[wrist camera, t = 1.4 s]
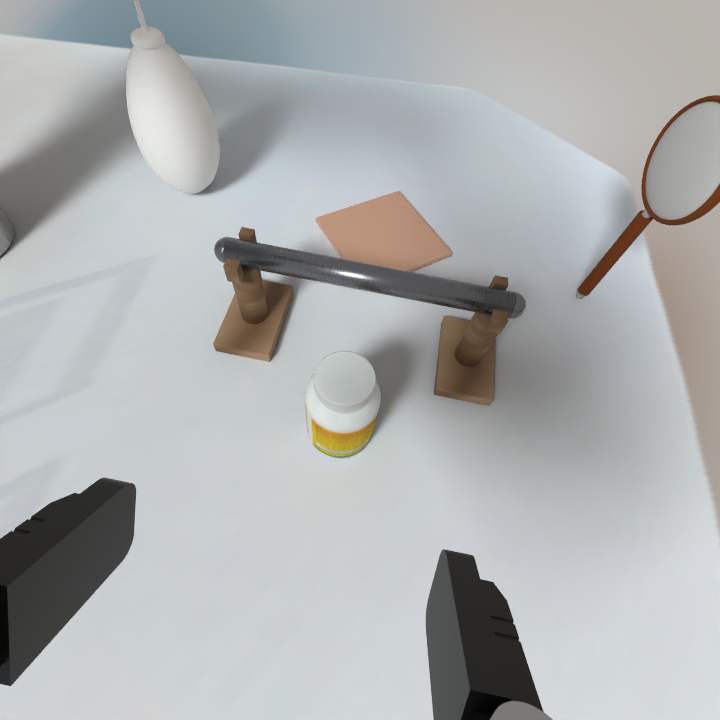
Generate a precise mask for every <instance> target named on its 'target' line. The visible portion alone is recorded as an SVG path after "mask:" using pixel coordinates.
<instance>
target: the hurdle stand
mask: <svg viewBox="0 0 720 720" xmlns="http://www.w3.org/2000/svg"><path fill="white" fill-rule="evenodd" d="M239 238H240V239H241V240H246V241H251V242H256V243H257V241H256V236H255V230H254V229H249V228H244V227H242V228H241V230H240V232H239ZM223 267H224V270H225V274H226V277H227V280H228V281H231V282H232V283H233V287H234V290H235V295H234V297H233V300H232V302H231V304H230V307H229V309H228V311H227V314H226V316H225V318H224V320H223V323H222V325H221V327H220V330H219V332H218V334H217V337H216V339H215V341H214V347H215V349H216V351H219V352H224V353H229V354H234V355H239V356H244V357H249V358H254V359H259V360H264V361H269V362H270V361H271V358H272V355H273V352H274V349H275V346H276V343H277V340H278V337H279V334H280V331H281V328H282V326H283V323H284V320H285V317H286V314H287V311H288V308H289V305H290V302H291V299H292V296H293V286H289V285H284V284H279V283H274V282H269V281H263V280H262V278H261V272H260V270H256V269H251V268H246V267H242V266H241V262H240V261H237V260H232V259H227V260H226V262H225V264H224V266H223ZM489 287H491V288H496V289H501V290H506V288H507V287H508V278H506V277H500V276H495V277H494V279H493V281H492V282H491V284H490V286H489ZM507 322H508V313H506V312H501V311H496V310H494V311H493V313H492V315H488V314H483V313H478V312H475V314H474V316H473V318H472V319H471V321H469V320H464V319H459V318H454V317H449V316H444V318H443V321H442V323H441V332H440V342H439V351H438V361H437V370H436V380H435V389H434V395H439V396H444V397H449V398H454V399H459V400H464V401H469V402H474V403H479V404H484V405H490V404H491V403H492V402H493V401H494V382H495V341H496V336H497V334H500V333H501V331H502V330H503V328H504V327H505V325H506V323H507Z"/></svg>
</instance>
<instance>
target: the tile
mask: <svg viewBox="0 0 720 720" xmlns="http://www.w3.org/2000/svg"><path fill="white" fill-rule="evenodd" d="M316 222H317V223H318V225H319V226H320V227H321V229H322V230H323V232H324V233H325V235H326V236H327V237H328V239H329V240H330V242H331V243H332V245H333V246H334V247H335V249H336V250H337V252H338V253H339V255H340V256H341V257H342V259H345V260H350V261H355V262H361V263H366V264H371V265H376V266H381V267H387V268H392V269H397V270H402V271H407V272H411V271H414V270H416V269H419V268H421V267H424V266H426V265H429V264H432V263H434V262H437V261H439V260H442V259H444V258H447V257H449V256H451V255H452V252H451V250H450V249H449V248H448V247H447V246H446V245H445V244H444V242H443V241H442V240H441V239H440V238H439V237H438V235H437V234H436V233H435V232H434V231H433V230H432V229H431V227H430V226H429V225H428V224H427V223H426V222H425V220H424V219H423V218H422V217H421V216H420V215H419V214H418V212H417V211H416V210H415V209H414V208H413V207H412V205H411V204H410V203H409V202H408V201H407V200H406V199H405V197H404V196H403V195H402V194H401V193H400V192H399V191H397V192H394V193H391V194H388V195H385V196H382V197H379V198H376V199H373V200H370V201H366V202H363V203H360V204H357V205H354V206H351V207H348V208H345V209H342V210H339V211H336V212H332V213H329V214H326V215H323V216H320V217H317V218H316Z"/></svg>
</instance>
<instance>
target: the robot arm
mask: <svg viewBox="0 0 720 720" xmlns="http://www.w3.org/2000/svg"><path fill="white" fill-rule="evenodd" d="M13 237H14V228H13V224H12V223H11V222H10V220H9V219H8V218H7V216H6V215H5V214H4V213H3V212H2V210H1V209H0V256H1V255H2V254H3V253H4V252H5V251H6V250H7V248H8V247H9V246H10V244H11V242H12V240H13ZM135 503H136V487H135V485H134V484H133V483H128V482H123V481H118V480H113V479H109V478H101V479H99V480H98V481H96V482H95V483H94V484H92V485H91V486H90V487H88V488H87V489H86V490H84V491H83V492H82V493H80V494H77V493H73V494H71V495H69V496H66V497H64V498H61V499H59V500H57V501H54V502H52V503H50V504H48V505H47V506H46V507H44V508H43V509H41V510H40V511H39V512H37V513H36V514H34V515H33V516H32V517H31V519H30V520H28V519H27V520H26V521H25V522H23V523H22V524H20V525H19V526H18V527H16V528H15V530H14V532H12V531H11V532H9V533H8V534H7V535H5V536H4V537H2V538H1V539H0V684H4V685H8V686H11V685H12V684H13V683H14V682H15V681H16V680H17V679H18V677H19V676H20V675H21V674H22V673H23V672H24V671H25V670H26V668H27V667H28V666H29V665H30V664H31V663H32V662H33V661H34V659H35V658H36V657H37V656H38V655H39V654H40V653H41V652H42V650H43V649H44V648H45V647H46V646H47V645H48V644H49V643H50V642H51V640H52V639H53V638H54V637H55V636H56V635H57V634H58V633H59V631H60V630H61V629H62V628H63V627H64V626H65V625H66V624H67V622H68V621H69V620H70V619H71V618H72V617H73V616H74V615H75V614H76V612H77V611H78V610H79V609H80V608H81V607H82V606H83V605H84V603H85V602H86V601H87V600H88V599H89V598H90V597H91V596H92V594H93V593H94V592H95V591H96V590H97V589H98V588H99V587H100V586H101V584H102V583H103V582H104V581H105V580H106V579H107V578H108V577H109V575H110V574H111V573H112V572H113V571H114V570H115V569H116V568H117V566H118V565H119V564H120V563H121V562H122V561H123V559H124V558H125V557H126V555H127V553H128V551H129V549H130V547H131V544H132V541H133V536H134V522H135ZM426 635H427V646H428V658H429V670H430V681H431V693H432V704H433V716H434V720H552V719H551V718H550V717H549V716H548V715H547V714H545V713H544V712H543V709H542V706H541V703H540V700H539V697H538V694H537V691H536V688H535V685H534V682H533V679H532V676H531V673H530V670H529V667H528V664H527V661H526V658H525V654H524V651H523V648H522V645H521V642H519V636H518V633H517V630H516V627H515V625H514V624H513V618H512V615H511V612H510V609H509V606H508V603H507V600H506V599H505V598H504V596H503V595H502V594H501V592H500V591H499V590H498V588H497V587H496V586H495V584H494V583H493V582H490V581H486V580H481V579H480V577H479V573H478V569H477V566H476V562H475V559H474V557H473V555H468V554H464V553H459V552H454V551H449V550H444V549H443V550H442V552H441V554H440V557H439V561H438V564H437V568H436V572H435V576H434V579H433V583H432V587H431V591H430V594H429V598H428V603H427V610H426Z"/></svg>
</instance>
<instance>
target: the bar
mask: <svg viewBox="0 0 720 720" xmlns="http://www.w3.org/2000/svg"><path fill="white" fill-rule="evenodd" d="M214 251H215V255H216V257H217V258H218V259H219V260H220V261H221V262H223V263H225V262H226V260H227V259H232V260H237V261H240V262H241V266H242V267H246V268H251V269H256V270H261V271H266V272H272V273H277V274H282V275H287V276H292V277H297V278H303V279H308V280H313V281H318V282H323V283H328V284H334V285H339V286H344V287H349V288H354V289H359V290H365V291H370V292H375V293H380V294H385V295H390V296H396V297H401V298H406V299H411V300H416V301H421V302H427V303H432V304H437V305H442V306H447V307H452V308H457V309H463V310H468V311H473V312H478V313H483V314H488V315H492V313H493V311H494V310H496V311H501V312H506V313H508V318H510V319H512V318H516V317H519V316H520V315H521V314H522V313H523V312H524V310H525V307H526V303H525V300H524V298H523V296H522V295H520V294H519V293H516V292H512V291H507V290H501V289H496V288H491V287H486V286H480V285H475V284H470V283H465V282H460V281H454V280H449V279H444V278H439V277H434V276H428V275H423V274H418V273H413V272H407V271H402V270H397V269H392V268H387V267H381V266H376V265H371V264H366V263H361V262H355V261H350V260H345V259H340V258H334V257H329V256H324V255H319V254H314V253H308V252H303V251H298V250H293V249H288V248H282V247H277V246H272V245H267V244H261V243H256V242H251V241H246V240H241V239H235V238H230V237H224V238H221V239H220V240H218V241H217V242H216V244H215V248H214Z"/></svg>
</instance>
